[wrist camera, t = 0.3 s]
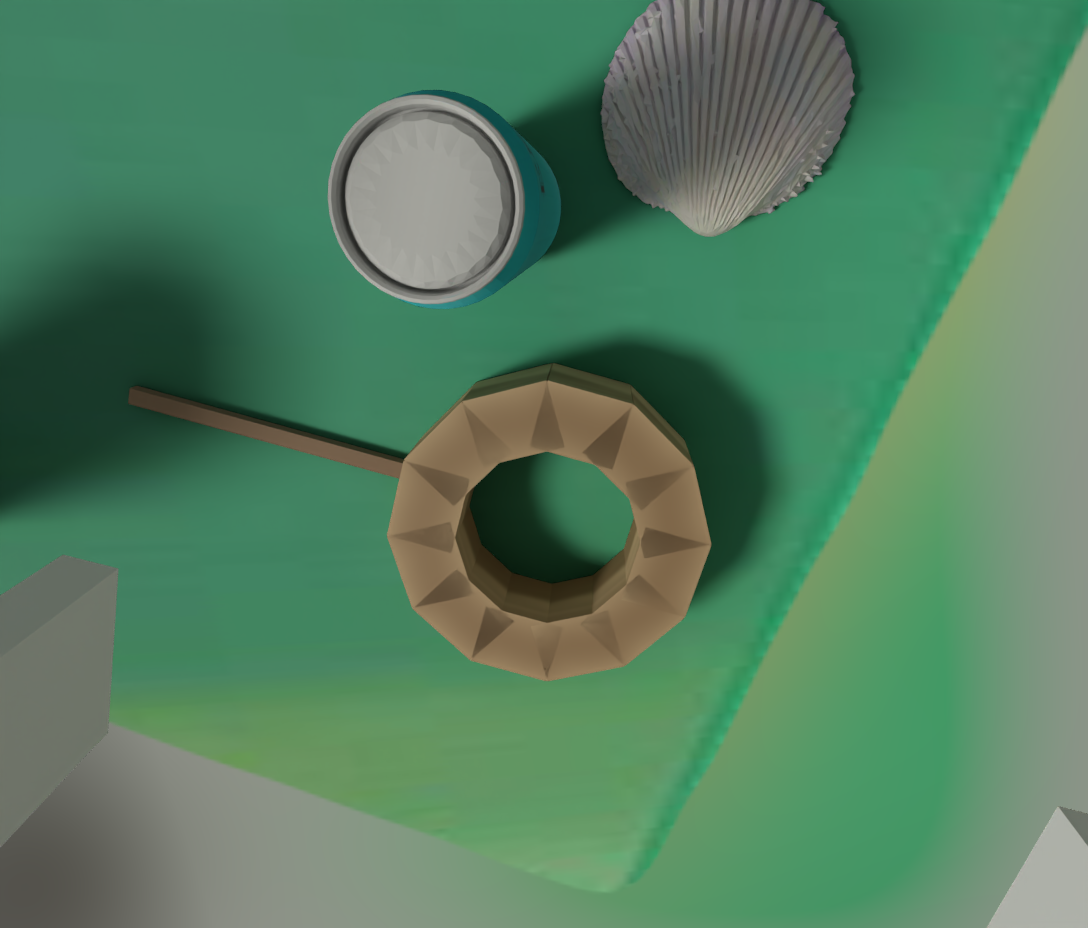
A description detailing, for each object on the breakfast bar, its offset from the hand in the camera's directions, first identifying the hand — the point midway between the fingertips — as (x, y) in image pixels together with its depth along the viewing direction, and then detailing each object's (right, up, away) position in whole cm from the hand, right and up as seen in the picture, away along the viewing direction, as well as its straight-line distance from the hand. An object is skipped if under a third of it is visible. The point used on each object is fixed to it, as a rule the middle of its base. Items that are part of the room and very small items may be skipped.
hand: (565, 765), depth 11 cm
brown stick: (-14, +6, +27) cm, 31 cm away
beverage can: (-2, +16, +24) cm, 28 cm away
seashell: (+7, +19, +22) cm, 30 cm away
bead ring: (0, +2, +28) cm, 28 cm away
